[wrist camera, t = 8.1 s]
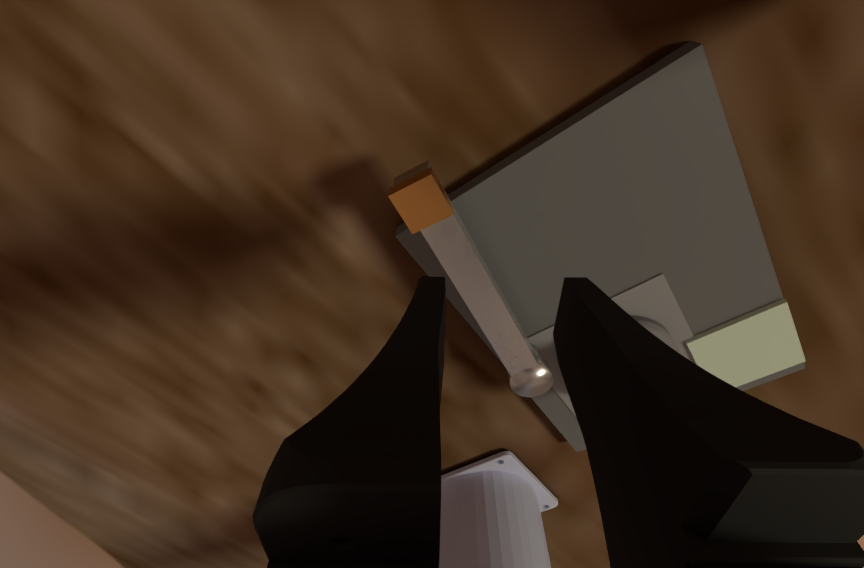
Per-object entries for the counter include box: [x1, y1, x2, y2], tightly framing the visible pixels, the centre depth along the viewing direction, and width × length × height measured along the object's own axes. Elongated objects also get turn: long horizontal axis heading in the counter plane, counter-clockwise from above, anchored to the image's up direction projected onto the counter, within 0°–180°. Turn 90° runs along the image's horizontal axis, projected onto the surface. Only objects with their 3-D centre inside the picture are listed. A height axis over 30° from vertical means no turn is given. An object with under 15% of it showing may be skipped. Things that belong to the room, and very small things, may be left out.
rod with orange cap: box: [388, 160, 553, 397], centre depth 21 cm, size 14×2×2 cm, turn 28°
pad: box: [685, 299, 806, 387], centre depth 25 cm, size 5×5×1 cm
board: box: [395, 41, 805, 452], centre depth 24 cm, size 14×20×2 cm
